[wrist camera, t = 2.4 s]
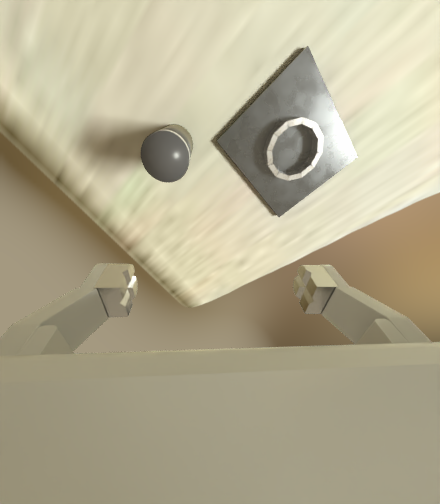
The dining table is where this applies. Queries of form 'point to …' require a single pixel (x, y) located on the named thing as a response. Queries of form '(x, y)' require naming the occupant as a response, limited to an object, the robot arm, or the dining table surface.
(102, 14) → the dining table surface
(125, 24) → the dining table surface
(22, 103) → the dining table surface
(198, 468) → the robot arm
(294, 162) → the mount plate
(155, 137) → the grey peg
